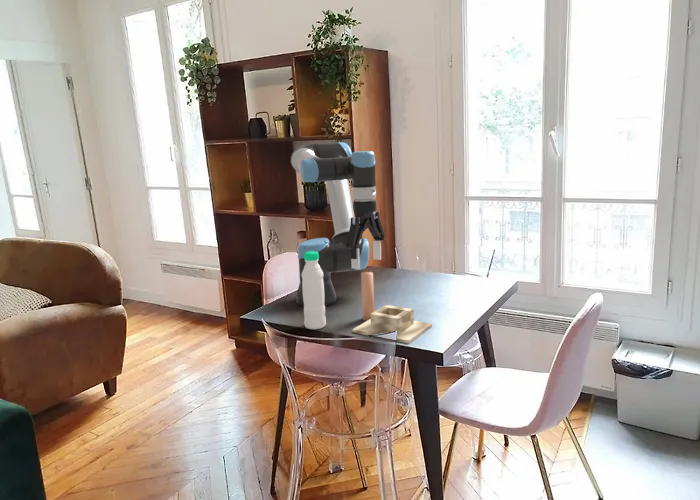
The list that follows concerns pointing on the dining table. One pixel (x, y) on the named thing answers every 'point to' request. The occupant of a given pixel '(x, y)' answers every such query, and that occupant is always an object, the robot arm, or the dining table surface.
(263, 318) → the dining table surface
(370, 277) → the dowel
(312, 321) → the water bottle
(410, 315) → the socket block
